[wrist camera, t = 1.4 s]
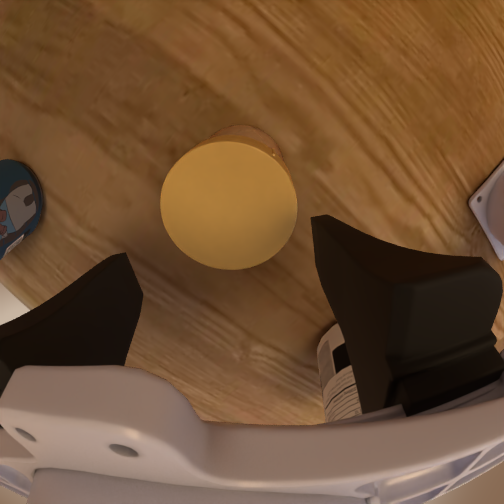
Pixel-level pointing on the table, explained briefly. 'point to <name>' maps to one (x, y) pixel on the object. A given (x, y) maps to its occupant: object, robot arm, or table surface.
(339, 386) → the supplement can
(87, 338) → the robot arm
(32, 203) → the soda can
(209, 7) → the table surface
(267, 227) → the lid
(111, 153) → the table surface
